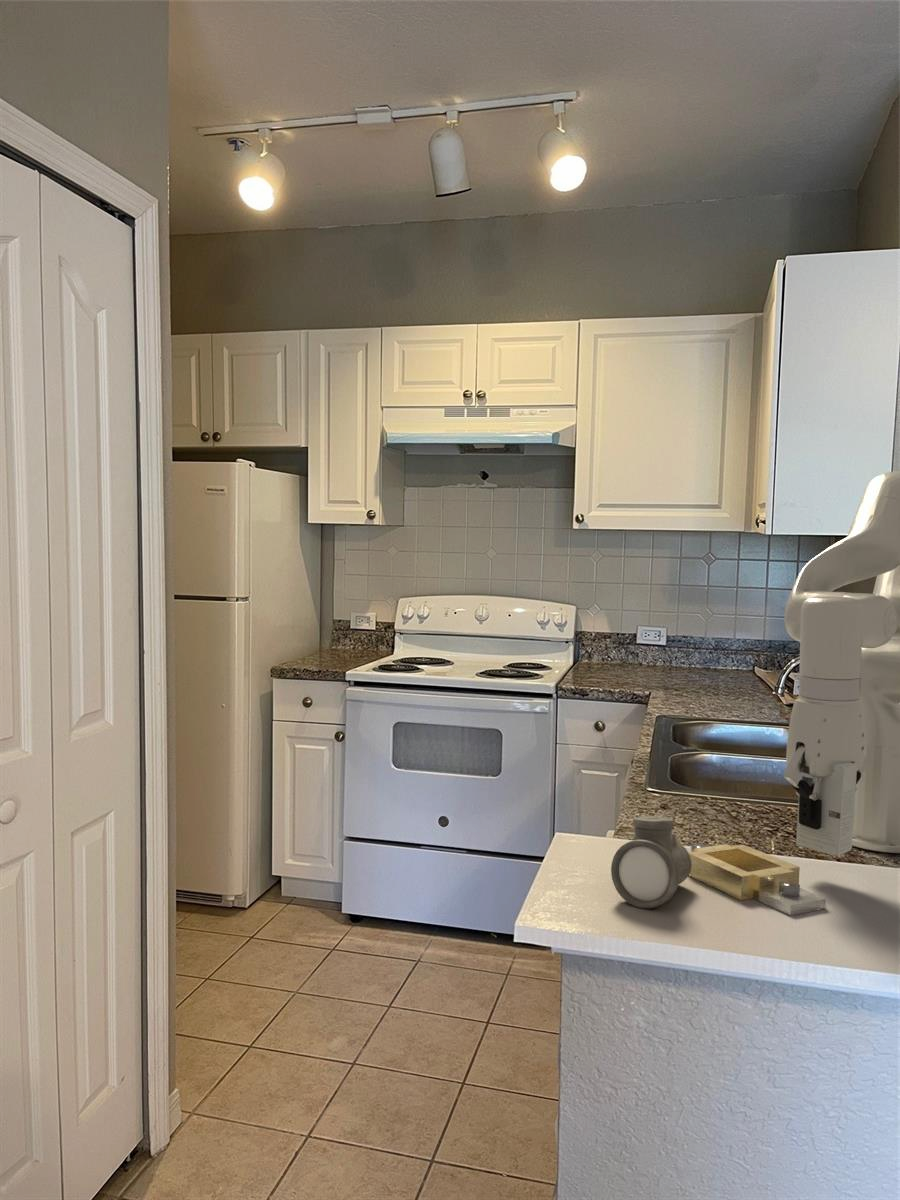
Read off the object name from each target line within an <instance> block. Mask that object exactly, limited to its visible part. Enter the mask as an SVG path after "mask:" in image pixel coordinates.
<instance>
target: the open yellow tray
mask: <svg viewBox="0 0 900 1200" xmlns="http://www.w3.org/2000/svg"><path fill="white" fill-rule="evenodd" d="M685 848H686V847H685ZM686 850H687V851H688V853H689V855H690V858H691V863H692V866H691V871H690V874H689V876H688V877H691V876H692V877H691V878H693V879H695V880H697V881H699V882H701V881H702V882H701V883H703V882H704V883H703V884H705V883H706V884H705V885H707V884H709V885H708V886H710V887H712V886H713V887H712V888H714V887H715V888H714V889H716V888H717V889H716V890H718V889H719V890H718V891H720V890H721V891H720V892H722V891H724V892H726V893H727V894H726V893H725V894H726V895H729V896H731V897H733V898H735V899H737V900H740V901H744V900H745V901H746V900H750V899H751V900H752V899H753V900H756V901H759V902H761V903H762V904H765V905H766V906H769V907H771V908H773V909H775V910H778V911H780V912H782V913H785V914H786V915H788V916H795V915H799V914H804V913H809V912H815V911H819V910H818V909H820V910H824V909H823V908H827V898H825V897H823V896H820V895H818V894H815V893H813V892H812V891H811V892H810V891H808V890H806V889H803V888H801V884H800V866H798V865H796V864H792V863H790V862H788V861H785V860H784V859H781V858H778V857H775V856H773V855H771V854H767V853H764V851H760V850H758V849H755V848H752V847H751V846H748V845H745V844H739V845H730V844H728V843H725V844H718V845H712V846H709V845H707V844H702V843H693V844H691V847H688V848H686ZM724 892H723V893H724ZM814 910H815V911H814Z"/></svg>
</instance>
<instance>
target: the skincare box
mask: <svg viewBox="0 0 900 1200" xmlns="http://www.w3.org/2000/svg"><path fill="white" fill-rule="evenodd" d="M856 775H857V762H849V763H841V764H836V765H834V768H833V773H832V775H831V776H828V777H823V780H822V784H821V788H820V792H819V796H818V799H820V800H822V814H821V828H820V829H818V830H815V829H812V828H810V827H807V826H804V825H801V824H800V823H799V801H798V807H797V820H796V821H797V822H796V840H795V844H796V846H800V847H802V848H803V847H804V848H807V849H810V850H813V851H816V852H820V853H823V854H828V855H830V856H834V857H835V856H836V857H839V856H843V855H844V854H846V853H848V852H850V851H851V850H852V849H853V846H852V837H853V821H854V806H855V790H856ZM812 780H813V779H810V778H808V782H807V783H808V784H809V785H810V787H811V784H812Z"/></svg>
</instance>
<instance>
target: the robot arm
mask: <svg viewBox="0 0 900 1200" xmlns="http://www.w3.org/2000/svg"><path fill="white" fill-rule="evenodd" d="M873 577H874V578H875V583H874V586H873V587H874V588H873V591H872V593H867V592H866V593H864V592H863V593H860V592H848V591H847V592H846V591H845V592H844V591H835V590H836V589H839V588H841V587H843V586H846V585H849V584H852V583H856V582H857V583H858V582H860V581H864V580H868V579H871V578H873ZM783 618H784V625H785V630H786V632H787V633H788V635H789V637H791V638H792V639H793V640H795V641H797V642H798V643H799V669H798V670H799V675H798V676H799V677H798V678H799V679H798V698H797V699H794V703H793V706H792V709H791V714H790V719H789V724H788V725H789V726H788V732H787V734H788V735H787V744H786V757H785V758H786V759H785V760H786V767H785V770H783V771H784V772H783V774H782V775H783V778H784V779H785V780H786V781H787V782H788V783H789V784H790V785H791V786H792V787H793V789H794V790H795V795H797V796H798V802H799V823H800V824H801V825H804V826H807V827H810V828H812V829H815V830H818V829H820V828H821V814H822V800H820V799H818V796H819V792H820V788H821V784H822V780H823V777H828V776H831V775H832V773H833V768H834V765H836V764H841V763H849V762H857V775H856V790H855V806H854V821H853V837H852V847H856V848H860V849H863V850H868V851H869V850H870V851H874V852H881V853H887V854H888V853H892V854H900V470H894V471H888V472H883V473H881V474H878V475H877V476H875V477H874V478H873V479H871V480H870V481H869V482H868V484H867V485H866V487H865V489H864V492H863V494H862V497H861V499H860V502H859V505H858V507H857V510H856V512H855V515H854V518H853V520H852V522H851V525H850V527H849V531H848V533H847V536H846V537H845V538H843V539H841V540H839V541H836V542H835V543H833V544H832V545H830V546H829V547H827V548H826V549H825V550H823V551H822V552H820V553H819V554H818V555H815V557H813V558H812V559H811V560H809V561H808V562H807V563H806V564H805V565H804V566H803V567H802V568H801V570H800V572H798V575H797V577H796V580H795V582H794V584H793V586H792V589H791V591H790V594H789V596H788V599H787V601H786V605H785V610H784V617H783ZM808 778H810V779H813V780H812V784H811V787H810V785H809V784H808V783H807V782H808Z"/></svg>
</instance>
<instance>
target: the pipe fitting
mask: <svg viewBox="0 0 900 1200" xmlns="http://www.w3.org/2000/svg"><path fill="white" fill-rule="evenodd" d="M674 823H675V820H674V819H673V818H672V817H671V818H670V817H667V816H666V817H665V816H656V815H655V816H653V815H649V816H646V815H644V816H643V815H641V816H635V817H634V816H633V818H632V827H634V837H633V840H630V841H628V842H626V843H624V844H623V845H621V846H620V847H619V848H618V849H617V850H616V852H615V853H614V856H613V858H612V861H611V864H610V865H611V867H610V872H611V873H610V874H611V879H612V883H613V886H614V888H615V889H616V891H617V894H619V896H620V897H621V898H622V899H623V900H624V901H625V902H626V903H628V904H630V905H631V906H633V907H636V908H639V909H654V908H658V907H660V906H662V905H664V904H665V903H667V902H668V901H669V900H671V899H672V897H673V896H674V894H675V893H676V891H677V889H678V887H679V885H680V884H682V883H683V882H685V881H686V879H687V878H688V877H690V876H689V874H690V871H691V866H692V863H691V858H690V855H689V853H688V851H687V850H686V847H685V846H684V845H683V844H682V843H681V842H679V841H677V836H676V833H675V832H673V830H672V829H675V828H674V827H675V824H674Z"/></svg>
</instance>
